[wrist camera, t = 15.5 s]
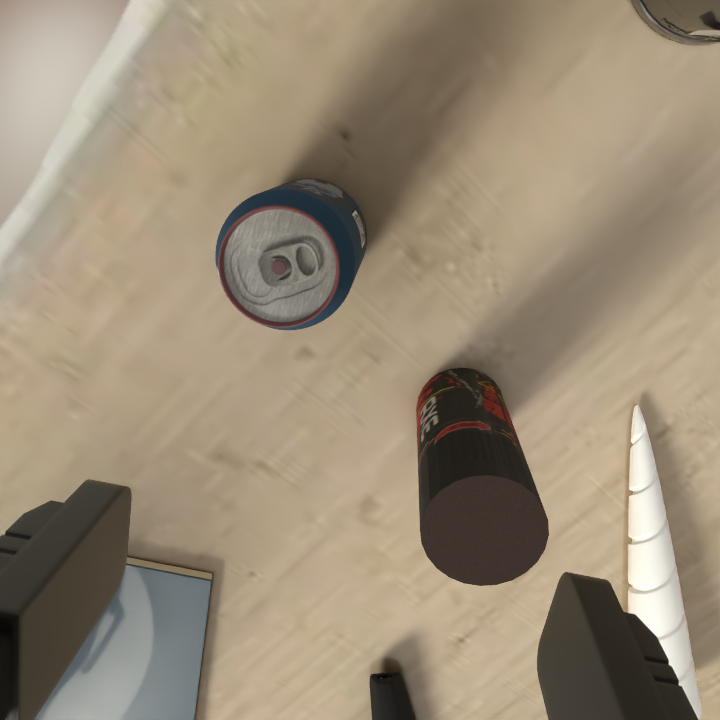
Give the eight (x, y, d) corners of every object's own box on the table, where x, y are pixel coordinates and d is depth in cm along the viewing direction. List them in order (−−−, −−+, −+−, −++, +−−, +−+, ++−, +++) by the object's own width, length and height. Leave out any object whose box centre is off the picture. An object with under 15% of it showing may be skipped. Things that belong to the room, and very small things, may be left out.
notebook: (22, 534, 51) (14, 543, 50) (215, 571, 51) (211, 581, 50) (19, 741, 58) (11, 753, 57) (190, 774, 58) (185, 787, 56)
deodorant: (488, 458, 46) (523, 599, 32) (405, 435, 46) (404, 566, 32) (517, 381, 45) (568, 495, 30) (431, 357, 44) (442, 460, 30)
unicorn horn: (693, 396, 44) (726, 425, 39) (684, 684, 51) (711, 737, 47) (619, 402, 44) (643, 432, 40) (620, 687, 52) (640, 740, 47)
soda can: (277, 299, 44) (231, 354, 33) (245, 194, 42) (183, 214, 31) (380, 273, 43) (369, 320, 32) (351, 164, 41) (329, 173, 30)
